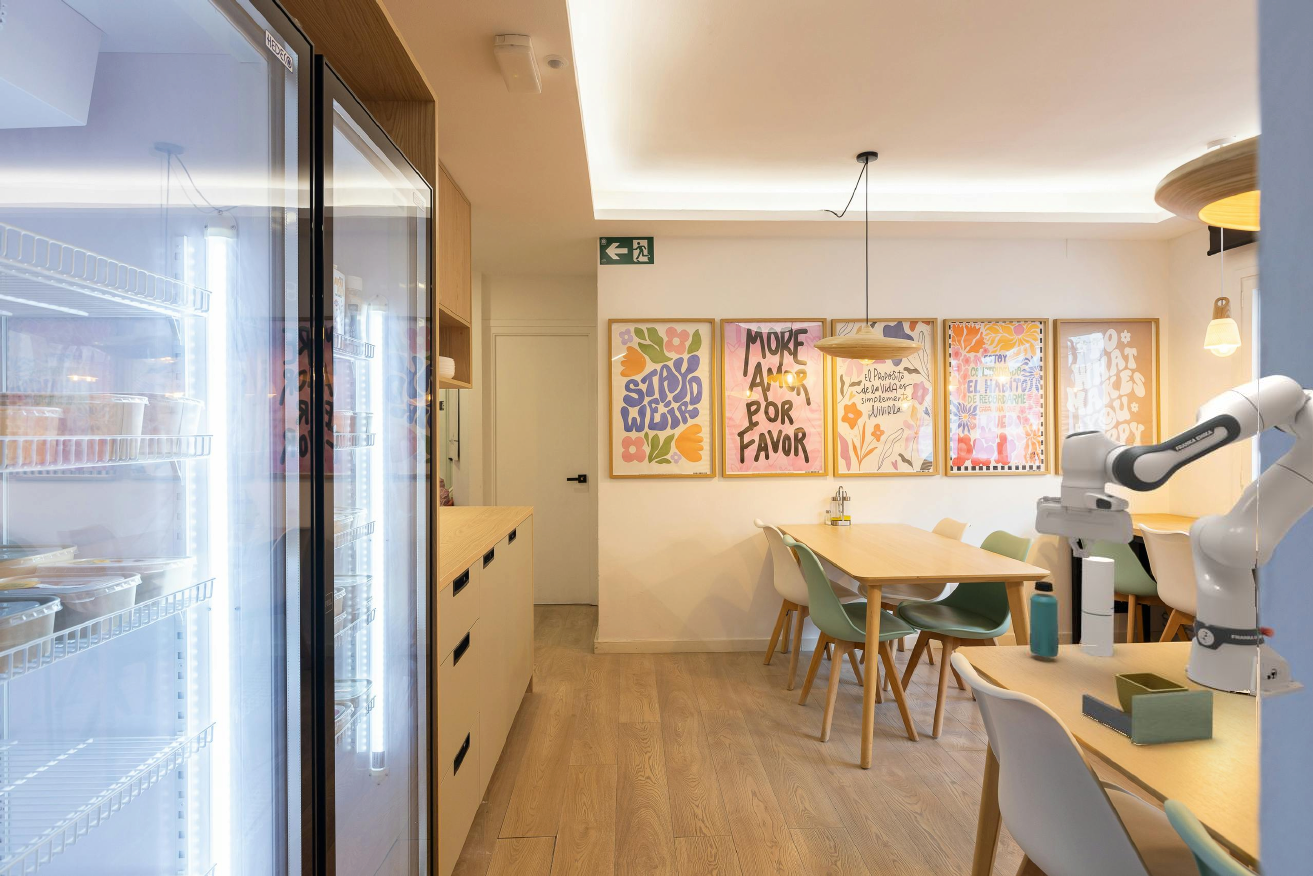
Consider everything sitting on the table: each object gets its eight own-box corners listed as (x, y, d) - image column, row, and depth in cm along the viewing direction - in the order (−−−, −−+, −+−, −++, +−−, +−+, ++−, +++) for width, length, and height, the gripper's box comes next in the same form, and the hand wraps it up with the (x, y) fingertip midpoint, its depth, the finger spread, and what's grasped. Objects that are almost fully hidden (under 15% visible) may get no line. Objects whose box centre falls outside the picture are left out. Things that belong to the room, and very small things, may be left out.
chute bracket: (1146, 708, 143) (1146, 666, 143) (1212, 738, 129) (1213, 692, 129) (1076, 714, 140) (1077, 671, 140) (1137, 745, 126) (1137, 698, 126)
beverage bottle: (1062, 664, 170) (1063, 585, 170) (1033, 662, 171) (1034, 584, 171) (1052, 655, 176) (1053, 579, 176) (1025, 653, 178) (1026, 578, 177)
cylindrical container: (1118, 653, 178) (1119, 559, 178) (1106, 658, 174) (1107, 562, 174) (1088, 646, 184) (1089, 555, 184) (1076, 651, 180) (1077, 558, 180)
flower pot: (1189, 733, 131) (1190, 687, 131) (1151, 736, 130) (1152, 690, 130) (1149, 714, 140) (1150, 671, 140) (1113, 717, 139) (1113, 674, 138)
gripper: (1030, 496, 166) (1029, 551, 166) (1124, 503, 149) (1123, 566, 149) (1043, 494, 169) (1042, 549, 170) (1136, 502, 153) (1136, 563, 153)
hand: (1081, 557), depth 159 cm, fingers closed
